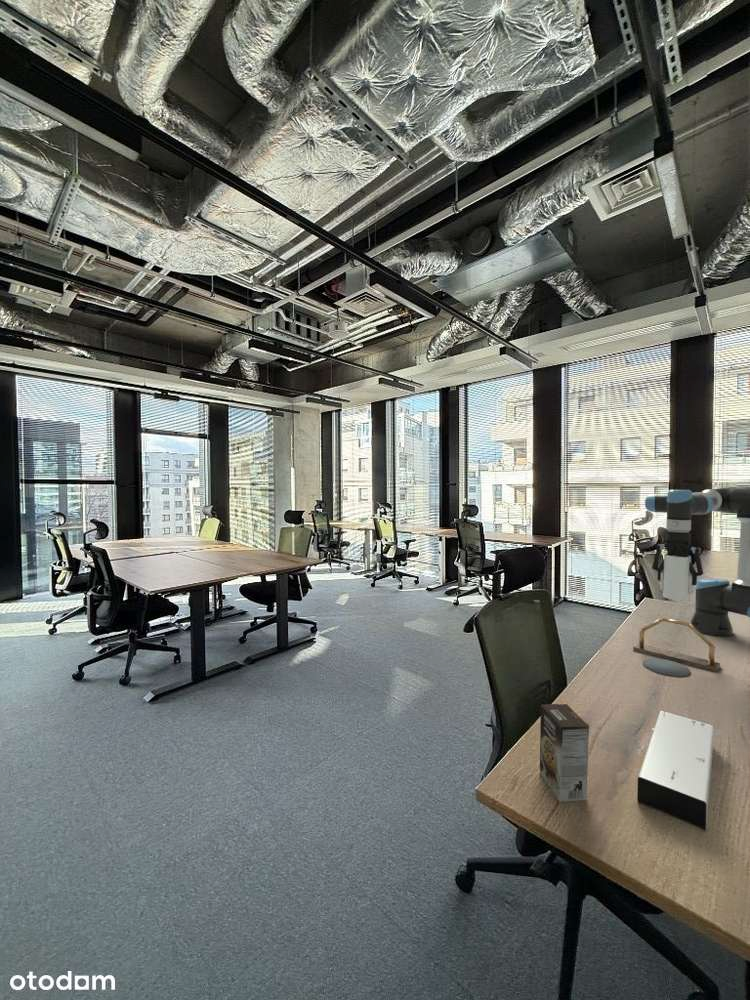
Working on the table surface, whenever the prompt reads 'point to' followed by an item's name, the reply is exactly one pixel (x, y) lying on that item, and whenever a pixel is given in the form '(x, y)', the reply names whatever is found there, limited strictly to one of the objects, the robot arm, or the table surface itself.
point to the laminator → (678, 768)
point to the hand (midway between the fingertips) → (676, 591)
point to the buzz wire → (678, 656)
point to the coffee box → (564, 752)
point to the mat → (666, 667)
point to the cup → (676, 577)
